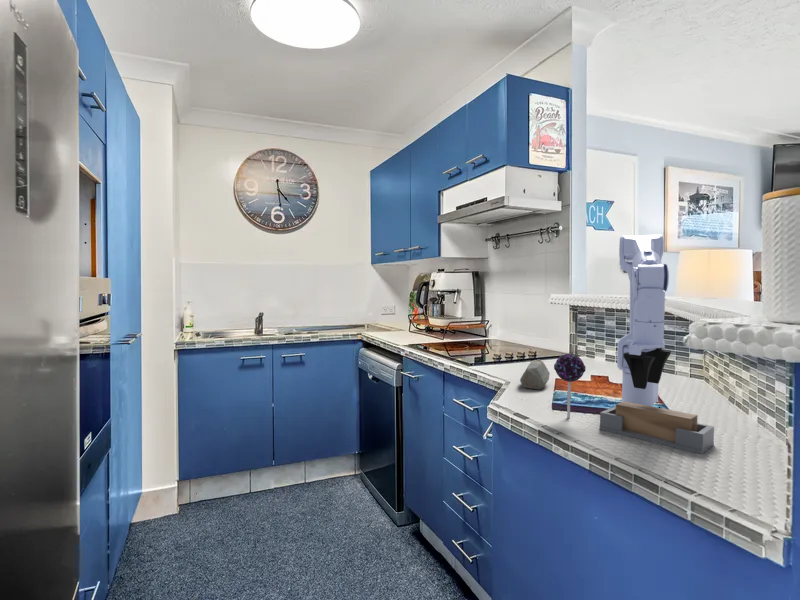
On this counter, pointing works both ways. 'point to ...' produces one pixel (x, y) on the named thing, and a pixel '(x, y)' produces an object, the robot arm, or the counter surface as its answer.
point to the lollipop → (569, 372)
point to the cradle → (683, 439)
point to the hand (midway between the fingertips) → (646, 385)
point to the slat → (654, 420)
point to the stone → (535, 375)
